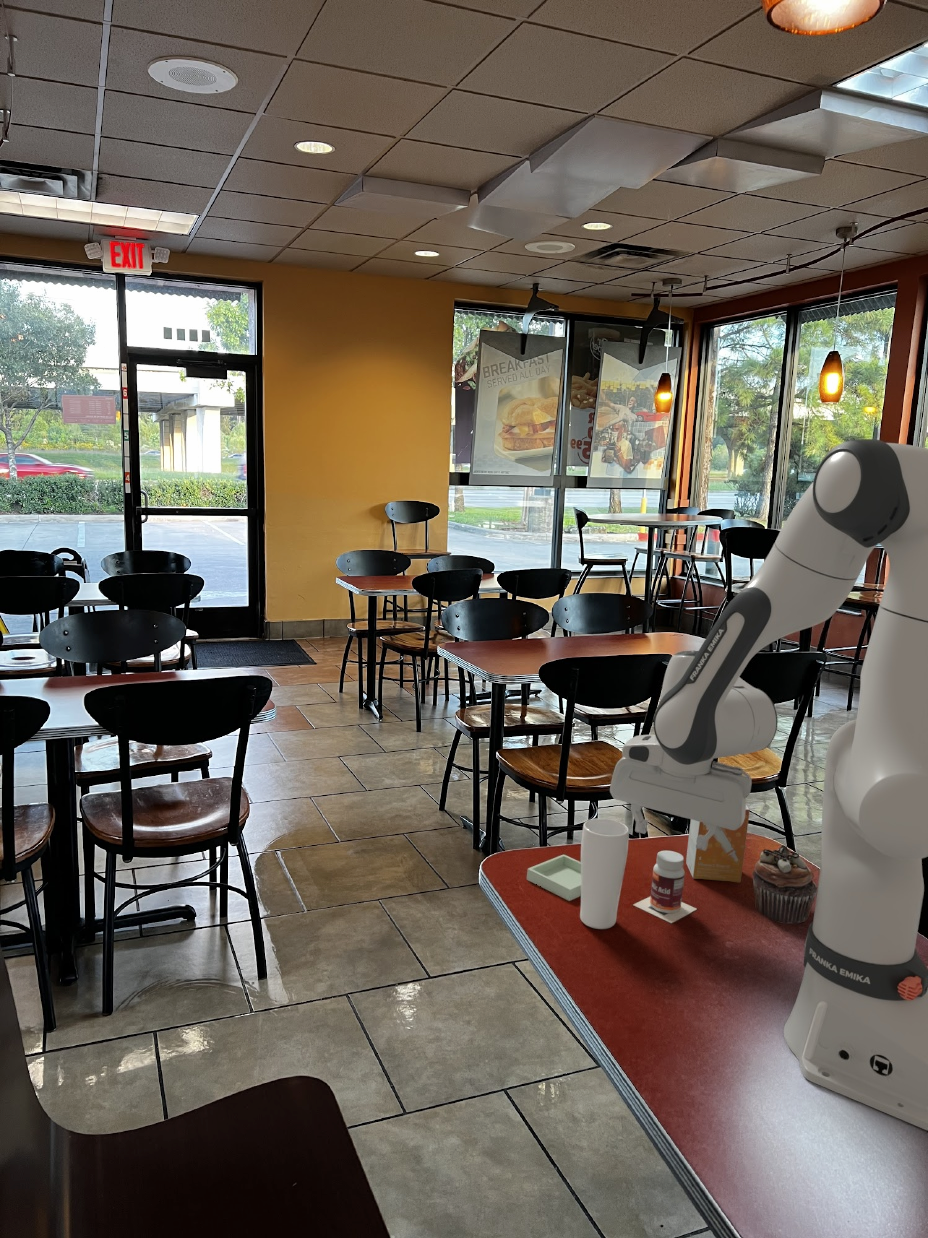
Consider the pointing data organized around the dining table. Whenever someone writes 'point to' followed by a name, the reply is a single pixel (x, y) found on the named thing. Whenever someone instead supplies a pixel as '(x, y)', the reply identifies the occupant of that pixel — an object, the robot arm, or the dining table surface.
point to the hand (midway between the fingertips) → (670, 840)
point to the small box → (717, 852)
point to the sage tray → (558, 876)
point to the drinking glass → (602, 870)
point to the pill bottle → (667, 882)
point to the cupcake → (783, 886)
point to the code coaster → (667, 917)
